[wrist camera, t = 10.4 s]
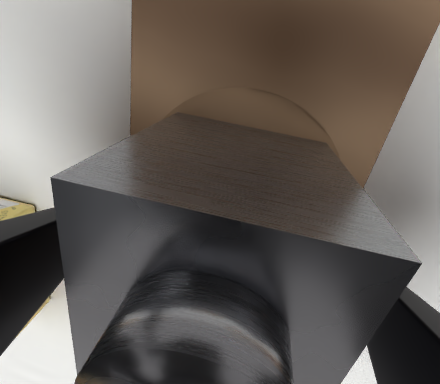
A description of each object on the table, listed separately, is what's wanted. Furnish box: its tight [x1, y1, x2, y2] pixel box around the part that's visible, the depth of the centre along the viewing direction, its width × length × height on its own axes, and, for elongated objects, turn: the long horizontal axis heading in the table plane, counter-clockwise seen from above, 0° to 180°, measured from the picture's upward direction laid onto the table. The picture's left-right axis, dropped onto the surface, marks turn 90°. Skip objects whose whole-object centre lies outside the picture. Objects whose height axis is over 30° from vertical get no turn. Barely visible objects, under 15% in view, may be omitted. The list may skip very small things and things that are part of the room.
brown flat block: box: [130, 0, 440, 188], centre depth 9 cm, size 22×10×5 cm, turn 170°
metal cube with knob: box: [51, 112, 422, 384], centre depth 8 cm, size 6×6×8 cm
